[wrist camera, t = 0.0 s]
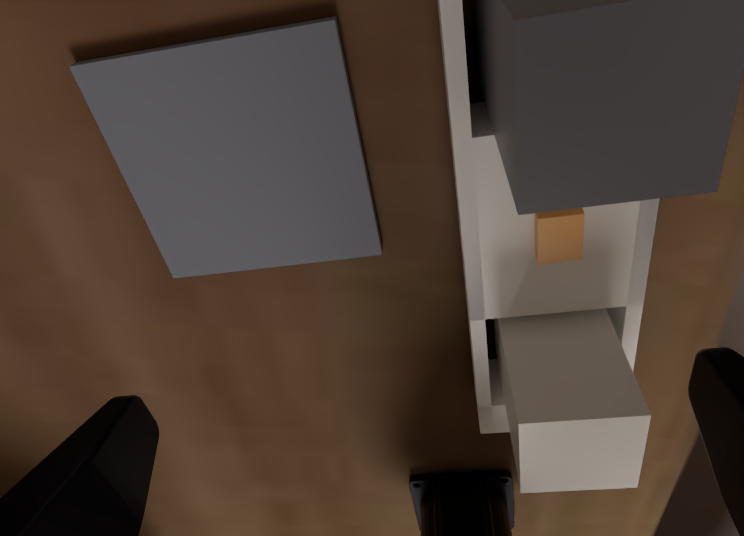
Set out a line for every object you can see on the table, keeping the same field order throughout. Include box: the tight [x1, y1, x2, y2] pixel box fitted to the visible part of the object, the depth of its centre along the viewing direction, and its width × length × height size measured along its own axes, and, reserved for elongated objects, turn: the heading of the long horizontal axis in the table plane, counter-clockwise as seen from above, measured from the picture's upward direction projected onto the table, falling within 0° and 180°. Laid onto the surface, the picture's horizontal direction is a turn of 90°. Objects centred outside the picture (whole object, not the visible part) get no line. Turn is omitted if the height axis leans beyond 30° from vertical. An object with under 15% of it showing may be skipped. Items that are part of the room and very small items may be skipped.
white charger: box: [494, 308, 651, 493], centre depth 24 cm, size 4×4×8 cm
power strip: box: [437, 0, 660, 434], centre depth 23 cm, size 28×7×4 cm, turn 10°
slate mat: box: [69, 16, 383, 278], centre depth 23 cm, size 10×10×1 cm
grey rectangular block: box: [475, 0, 744, 215], centre depth 15 cm, size 4×4×9 cm
